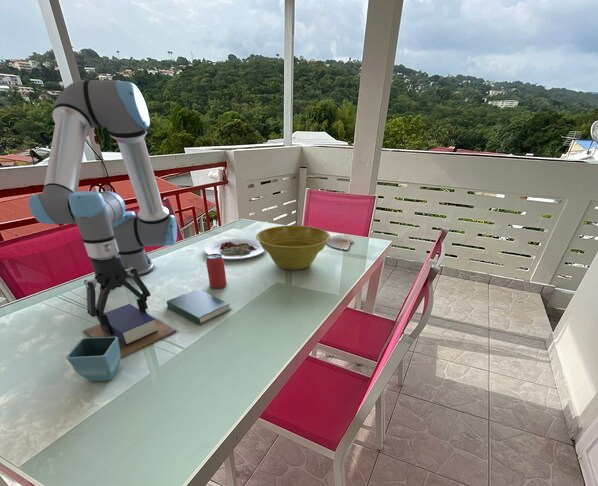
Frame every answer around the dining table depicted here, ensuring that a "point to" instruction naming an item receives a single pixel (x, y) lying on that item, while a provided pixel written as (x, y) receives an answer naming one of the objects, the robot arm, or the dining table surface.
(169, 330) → the brown wooden board
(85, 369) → the flower pot
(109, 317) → the navy book
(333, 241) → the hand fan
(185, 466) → the dining table surface
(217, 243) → the plated food
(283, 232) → the planter bowl
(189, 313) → the green notebook
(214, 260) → the beer can
